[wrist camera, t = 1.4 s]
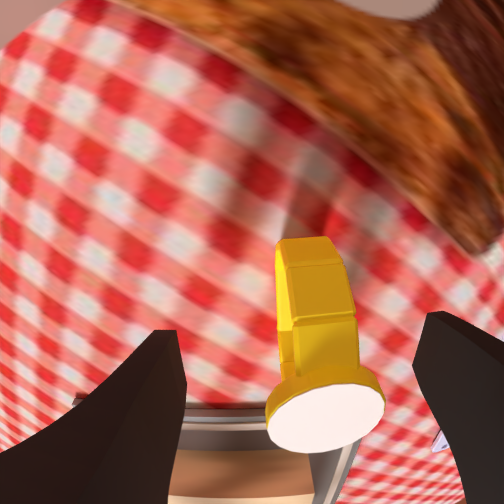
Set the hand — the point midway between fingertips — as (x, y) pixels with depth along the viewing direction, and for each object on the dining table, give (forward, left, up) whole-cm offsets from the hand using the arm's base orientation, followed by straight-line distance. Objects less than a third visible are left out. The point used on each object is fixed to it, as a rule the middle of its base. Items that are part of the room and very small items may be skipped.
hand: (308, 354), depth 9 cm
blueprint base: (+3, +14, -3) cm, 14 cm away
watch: (0, 0, -4) cm, 4 cm away
